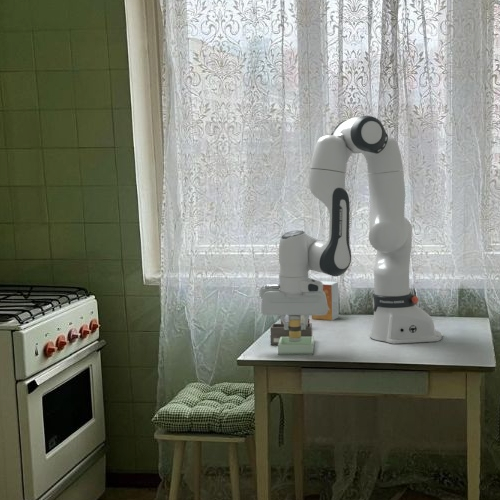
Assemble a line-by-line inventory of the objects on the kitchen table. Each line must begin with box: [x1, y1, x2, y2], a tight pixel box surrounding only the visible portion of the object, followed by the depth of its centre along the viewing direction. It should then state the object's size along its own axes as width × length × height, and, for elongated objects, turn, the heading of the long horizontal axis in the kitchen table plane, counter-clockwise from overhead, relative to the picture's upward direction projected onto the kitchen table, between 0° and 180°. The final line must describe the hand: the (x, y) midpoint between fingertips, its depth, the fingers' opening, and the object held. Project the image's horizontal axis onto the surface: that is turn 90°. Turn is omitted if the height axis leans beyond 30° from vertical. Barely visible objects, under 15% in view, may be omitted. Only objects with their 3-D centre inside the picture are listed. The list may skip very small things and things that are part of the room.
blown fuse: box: [289, 315, 301, 342], centre depth 254 cm, size 4×4×8 cm
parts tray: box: [277, 336, 315, 356], centre depth 254 cm, size 10×10×3 cm
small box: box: [311, 280, 340, 321], centre depth 298 cm, size 8×6×13 cm
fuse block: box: [269, 322, 313, 346], centre depth 264 cm, size 13×6×6 cm, turn 84°
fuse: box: [301, 315, 308, 327], centre depth 263 cm, size 4×4×8 cm
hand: (294, 329), depth 254 cm, fingers closed on blown fuse, 4 cm apart
